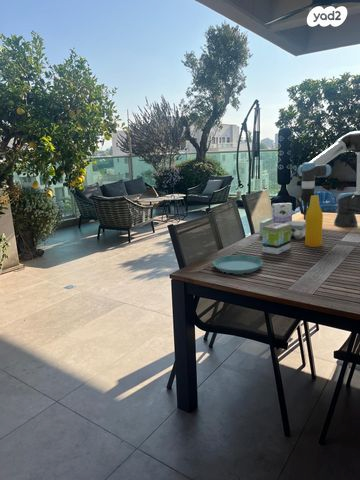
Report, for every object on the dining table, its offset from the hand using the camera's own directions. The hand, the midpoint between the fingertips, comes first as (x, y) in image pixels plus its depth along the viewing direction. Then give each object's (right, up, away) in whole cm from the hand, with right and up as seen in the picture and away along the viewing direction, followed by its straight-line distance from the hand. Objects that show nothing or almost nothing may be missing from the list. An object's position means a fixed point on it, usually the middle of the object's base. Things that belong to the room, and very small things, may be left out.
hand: (306, 225), depth 221 cm
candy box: (-3, +2, +44) cm, 44 cm away
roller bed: (-5, -7, +6) cm, 11 cm away
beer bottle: (-3, -13, -17) cm, 22 cm away
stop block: (-21, -5, +18) cm, 28 cm away
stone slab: (-6, -1, +5) cm, 7 cm away
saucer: (-52, -24, -49) cm, 75 cm away
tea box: (-26, -16, -23) cm, 38 cm away
